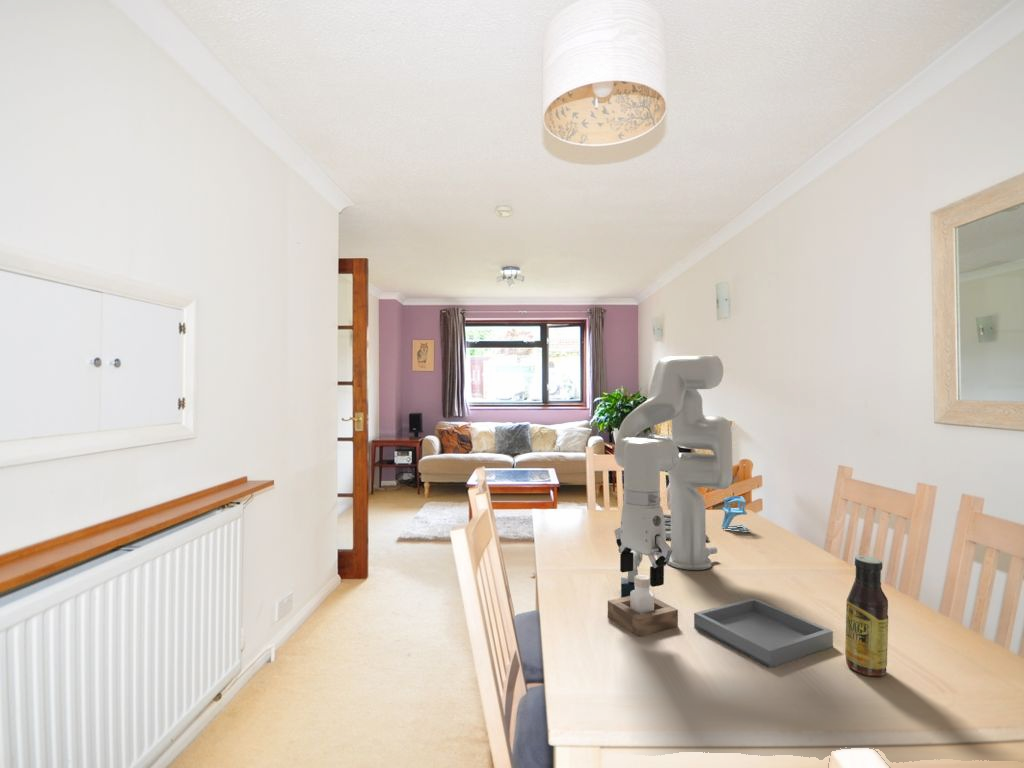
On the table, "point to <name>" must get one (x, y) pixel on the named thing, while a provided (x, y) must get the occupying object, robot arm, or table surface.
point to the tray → (763, 631)
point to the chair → (733, 512)
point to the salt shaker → (641, 595)
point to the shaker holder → (643, 616)
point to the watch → (631, 575)
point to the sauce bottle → (867, 620)
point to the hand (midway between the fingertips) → (641, 578)
